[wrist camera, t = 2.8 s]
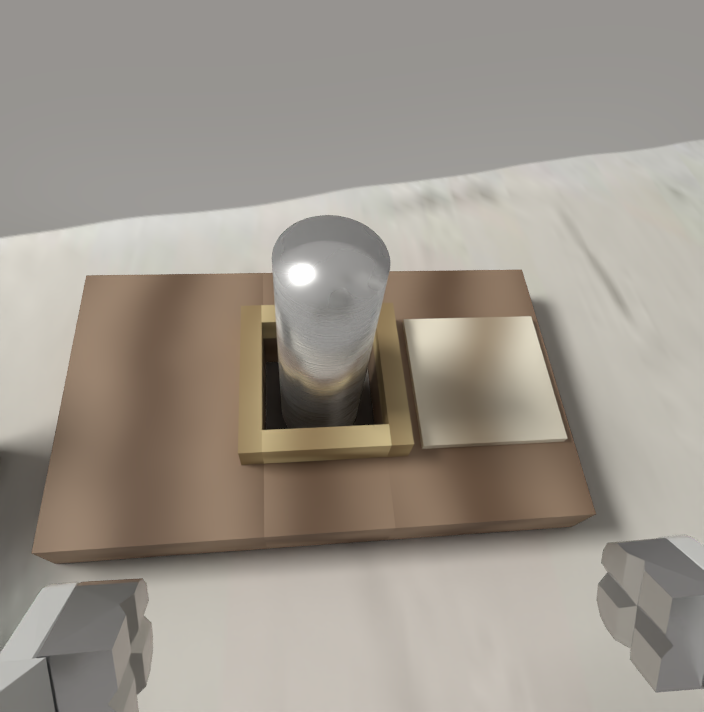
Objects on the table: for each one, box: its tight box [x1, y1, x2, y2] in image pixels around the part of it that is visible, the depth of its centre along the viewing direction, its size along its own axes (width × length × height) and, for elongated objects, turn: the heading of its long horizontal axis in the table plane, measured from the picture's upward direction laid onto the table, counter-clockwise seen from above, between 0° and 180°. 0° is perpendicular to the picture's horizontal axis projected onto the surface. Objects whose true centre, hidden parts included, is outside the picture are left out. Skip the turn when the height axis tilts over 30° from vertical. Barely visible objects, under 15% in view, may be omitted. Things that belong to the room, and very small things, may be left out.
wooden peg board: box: [32, 270, 596, 564], centre depth 27 cm, size 24×14×4 cm, turn 95°
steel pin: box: [272, 215, 390, 429], centre depth 23 cm, size 4×4×12 cm
